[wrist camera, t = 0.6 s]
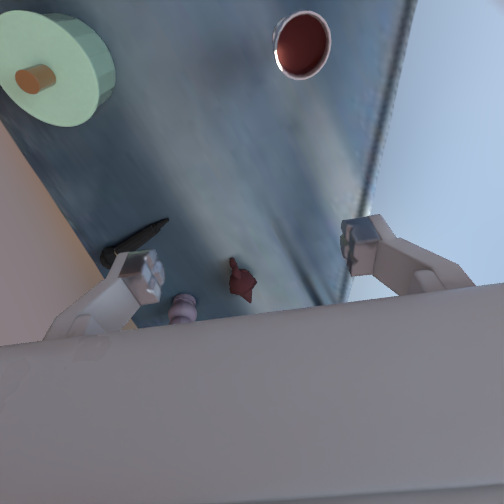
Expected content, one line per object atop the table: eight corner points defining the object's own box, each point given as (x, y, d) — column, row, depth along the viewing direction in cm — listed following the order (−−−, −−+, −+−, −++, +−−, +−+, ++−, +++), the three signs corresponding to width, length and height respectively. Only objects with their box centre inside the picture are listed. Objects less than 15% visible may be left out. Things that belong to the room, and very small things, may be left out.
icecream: (266, 306, 75) (250, 264, 67) (240, 316, 75) (221, 276, 66) (259, 289, 81) (243, 249, 72) (235, 299, 81) (217, 260, 72)
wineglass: (302, -4, 39) (321, -5, 30) (318, 48, 43) (338, 61, 34) (258, 25, 41) (264, 32, 32) (277, 73, 45) (287, 91, 36)
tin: (13, 19, 40) (-30, 22, 33) (94, 8, 39) (66, 10, 33) (59, 109, 48) (31, 126, 41) (127, 101, 47) (110, 117, 41)
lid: (-35, 17, 33) (-71, 19, 29) (71, 3, 33) (48, 3, 29) (32, 128, 42) (11, 142, 38) (116, 119, 42) (104, 131, 38)
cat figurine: (193, 312, 86) (188, 348, 77) (167, 305, 84) (159, 342, 75) (202, 295, 81) (198, 332, 72) (175, 288, 79) (167, 325, 70)
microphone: (164, 206, 64) (102, 250, 69) (155, 212, 59) (89, 260, 64) (179, 225, 66) (118, 267, 71) (172, 233, 61) (107, 278, 66)
